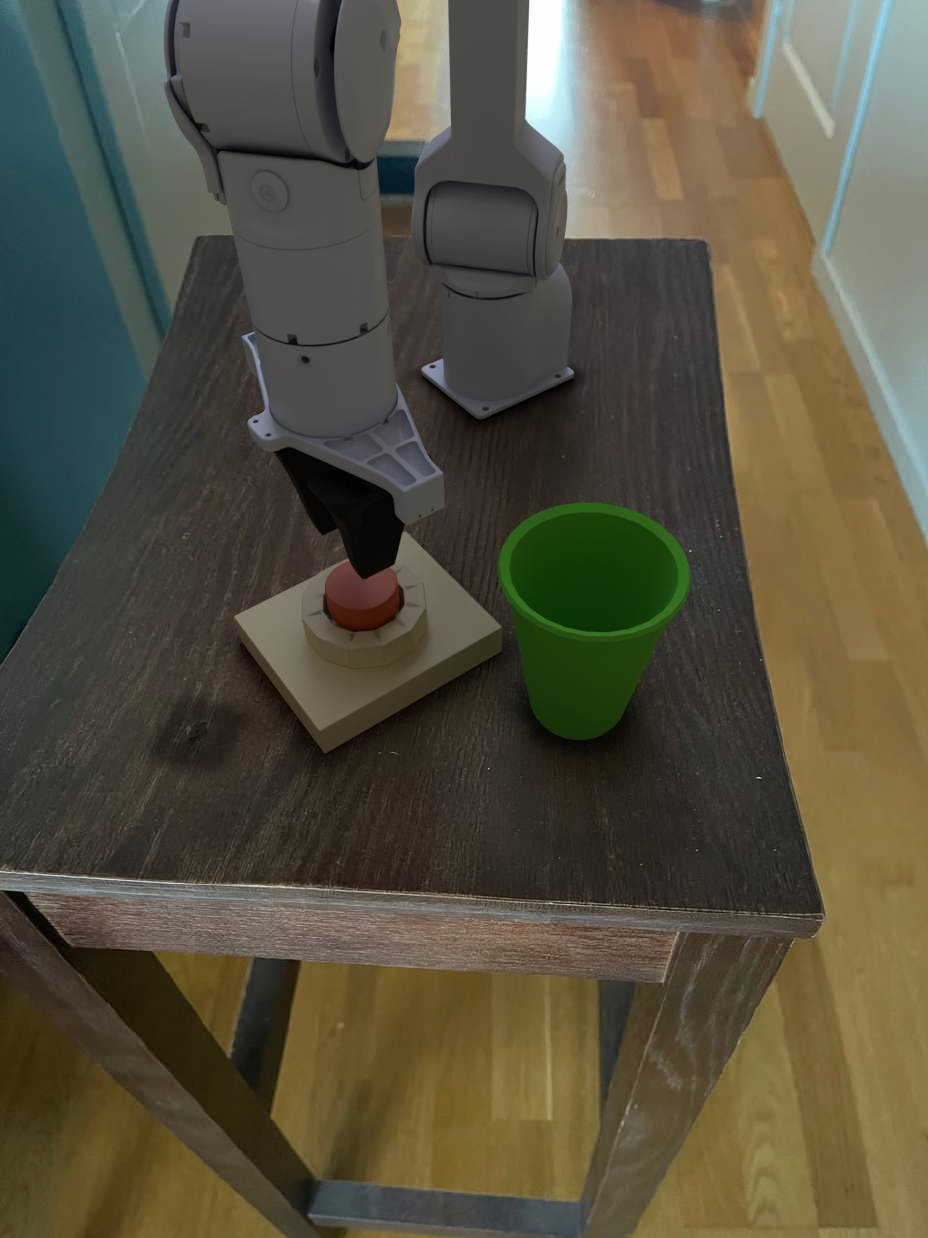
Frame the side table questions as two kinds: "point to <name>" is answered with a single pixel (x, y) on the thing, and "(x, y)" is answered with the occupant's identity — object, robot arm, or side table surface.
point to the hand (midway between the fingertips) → (355, 545)
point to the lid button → (361, 598)
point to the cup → (589, 609)
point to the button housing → (368, 647)
